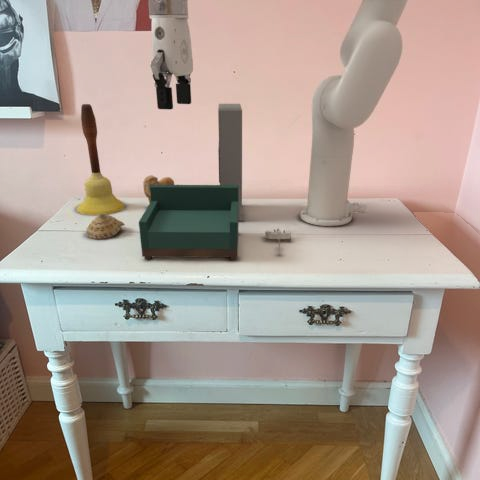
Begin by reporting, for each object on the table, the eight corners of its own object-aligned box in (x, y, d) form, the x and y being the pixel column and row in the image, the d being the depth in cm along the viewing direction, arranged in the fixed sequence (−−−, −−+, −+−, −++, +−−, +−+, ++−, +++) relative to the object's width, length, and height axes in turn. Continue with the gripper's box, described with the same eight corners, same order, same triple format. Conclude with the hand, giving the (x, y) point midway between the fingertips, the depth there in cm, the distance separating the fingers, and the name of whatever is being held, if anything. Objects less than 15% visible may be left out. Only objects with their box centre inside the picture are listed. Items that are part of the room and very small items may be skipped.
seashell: (132, 219, 111) (110, 215, 104) (129, 243, 112) (107, 241, 105) (103, 214, 114) (80, 210, 107) (100, 238, 115) (77, 235, 107)
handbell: (79, 202, 131) (63, 102, 118) (126, 200, 132) (114, 101, 120) (74, 216, 120) (54, 107, 107) (124, 213, 122) (111, 106, 109)
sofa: (238, 233, 109) (238, 185, 104) (237, 260, 96) (237, 206, 90) (155, 232, 110) (151, 184, 104) (142, 260, 96) (136, 206, 90)
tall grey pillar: (217, 205, 128) (215, 103, 116) (240, 205, 129) (240, 103, 116) (217, 221, 116) (214, 110, 104) (242, 221, 117) (242, 110, 104)
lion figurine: (159, 214, 122) (156, 178, 117) (140, 212, 123) (137, 176, 118) (182, 198, 134) (180, 165, 129) (165, 196, 135) (162, 164, 130)
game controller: (286, 234, 109) (286, 223, 108) (305, 253, 99) (306, 241, 98) (262, 236, 108) (262, 225, 106) (279, 255, 98) (280, 243, 97)
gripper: (167, 7, 84) (174, 112, 93) (202, 11, 99) (206, 102, 107) (129, 8, 86) (140, 110, 95) (169, 12, 101) (175, 101, 109)
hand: (175, 106), depth 101 cm, fingers open, 9 cm apart
